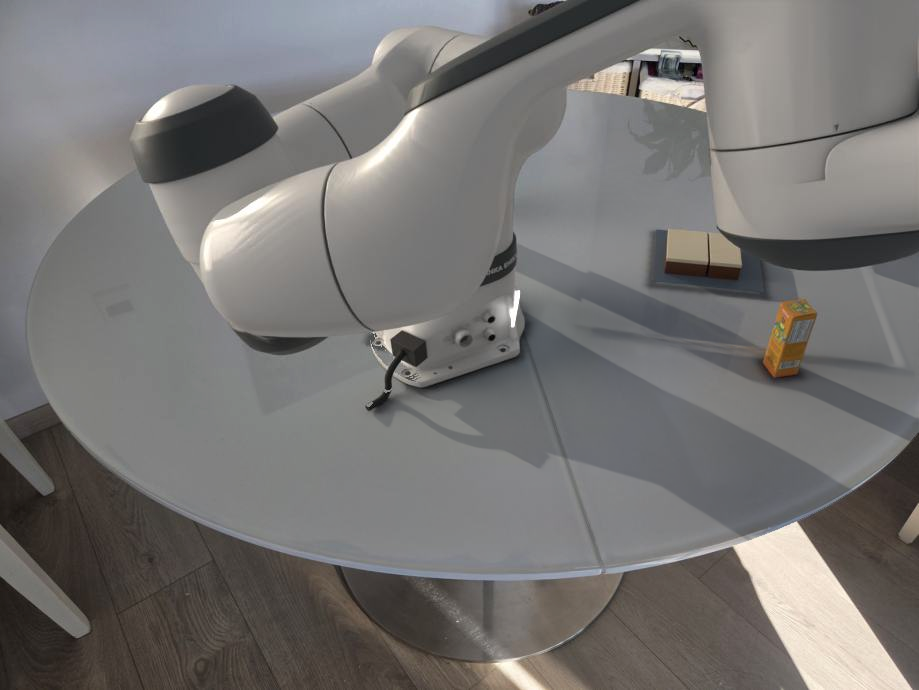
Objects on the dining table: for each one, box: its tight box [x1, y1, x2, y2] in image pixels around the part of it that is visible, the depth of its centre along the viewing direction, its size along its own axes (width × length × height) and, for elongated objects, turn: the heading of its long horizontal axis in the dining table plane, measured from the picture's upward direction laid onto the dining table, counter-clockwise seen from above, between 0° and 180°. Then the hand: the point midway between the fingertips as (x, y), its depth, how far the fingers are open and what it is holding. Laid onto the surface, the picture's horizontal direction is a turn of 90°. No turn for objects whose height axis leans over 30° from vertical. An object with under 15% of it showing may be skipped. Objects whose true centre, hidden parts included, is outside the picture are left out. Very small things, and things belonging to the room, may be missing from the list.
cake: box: [651, 228, 766, 294], centre depth 100 cm, size 16×16×4 cm
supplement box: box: [762, 298, 818, 379], centre depth 79 cm, size 3×3×10 cm
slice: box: [707, 231, 742, 280], centre depth 99 cm, size 9×4×3 cm, turn 165°
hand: (877, 101), depth 50 cm, fingers open, 8 cm apart
